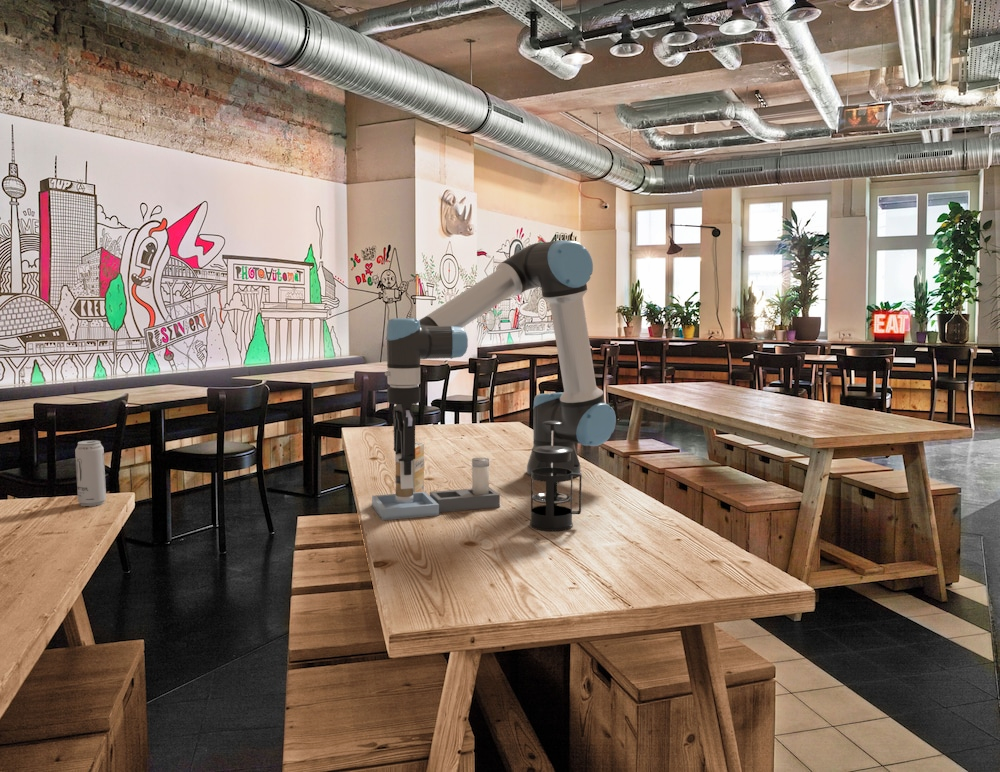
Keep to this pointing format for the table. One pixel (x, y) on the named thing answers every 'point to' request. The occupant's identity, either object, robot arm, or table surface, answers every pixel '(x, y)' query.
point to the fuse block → (465, 500)
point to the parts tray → (405, 506)
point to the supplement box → (418, 468)
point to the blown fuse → (401, 494)
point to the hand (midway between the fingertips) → (404, 485)
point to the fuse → (480, 476)
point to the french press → (552, 488)
